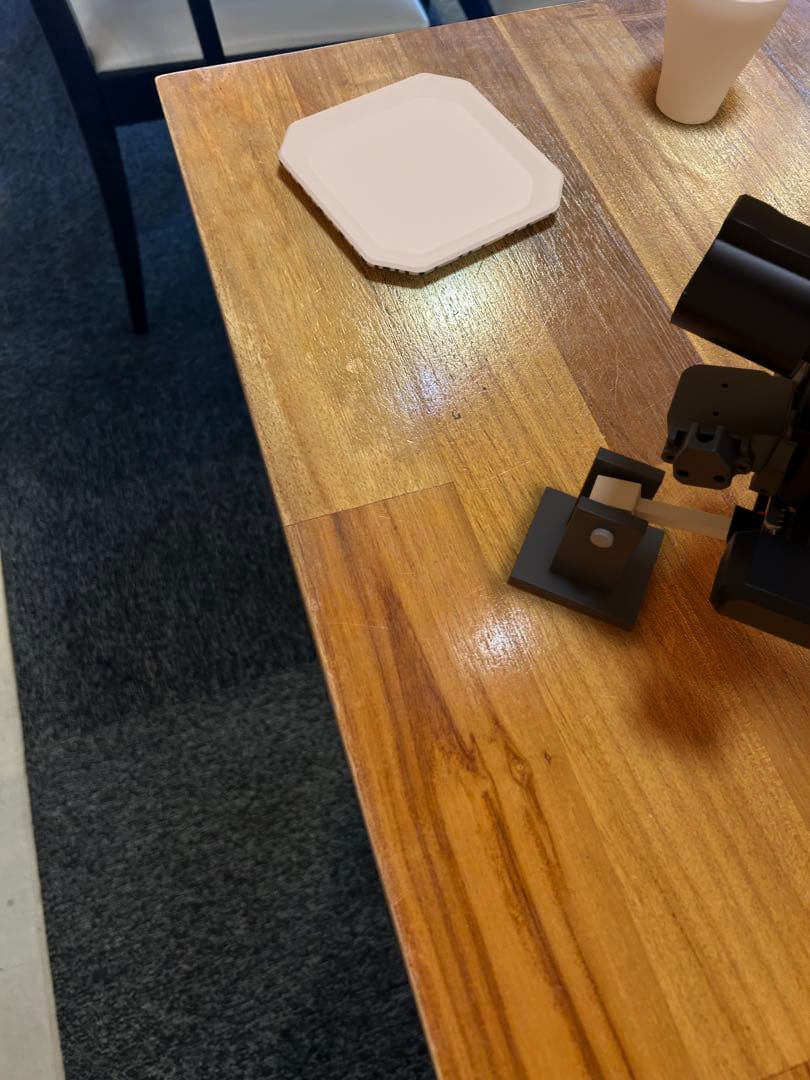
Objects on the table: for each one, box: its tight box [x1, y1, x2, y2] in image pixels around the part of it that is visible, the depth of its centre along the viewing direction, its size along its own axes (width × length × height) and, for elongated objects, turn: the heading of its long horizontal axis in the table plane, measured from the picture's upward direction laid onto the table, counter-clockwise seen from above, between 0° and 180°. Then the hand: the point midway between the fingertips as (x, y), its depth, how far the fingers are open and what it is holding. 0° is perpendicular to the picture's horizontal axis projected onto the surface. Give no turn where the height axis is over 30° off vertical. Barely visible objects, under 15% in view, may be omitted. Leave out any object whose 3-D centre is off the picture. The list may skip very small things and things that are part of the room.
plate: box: [277, 72, 565, 276], centre depth 84 cm, size 21×21×2 cm
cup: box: [655, 0, 790, 125], centre depth 87 cm, size 10×10×14 cm
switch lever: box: [589, 475, 765, 541], centre depth 59 cm, size 12×3×3 cm, turn 67°
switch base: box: [507, 446, 666, 633], centre depth 63 cm, size 9×8×10 cm
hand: (748, 551), depth 59 cm, fingers closed on switch lever, 3 cm apart
